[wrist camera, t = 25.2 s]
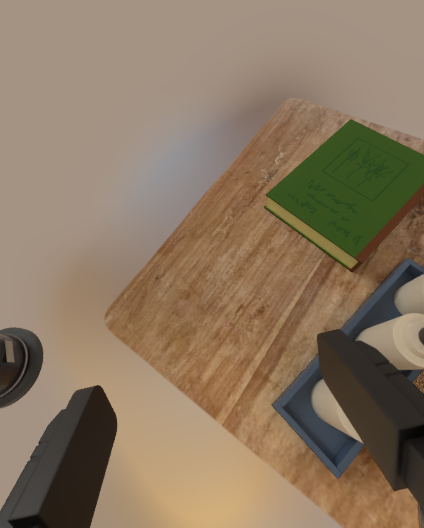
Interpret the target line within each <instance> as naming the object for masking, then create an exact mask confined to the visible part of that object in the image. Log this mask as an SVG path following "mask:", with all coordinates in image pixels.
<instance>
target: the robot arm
mask: <svg viewBox="0 0 424 528" xmlns="http://www.w3.org/2000/svg"><path fill="white" fill-rule="evenodd" d="M317 342H318V354H319V366H320V371H321V374H322V377H323V379H324V381H325V383H326V385H327V387H328V388H329V390H330V391H331V393H332V395H333V396H334V398H335V399H336V401H337V402H338V404H339V406H340V407H341V409H342V410H343V412H344V413H345V415H346V417H347V418H348V420H349V421H350V423H351V424H352V426H353V428H354V429H355V431H356V432H357V434H358V435H359V437H360V439H361V440H362V442H363V443H364V445H365V446H366V448H367V449H368V451H369V453H370V454H371V456H372V457H373V459H374V460H375V462H376V464H377V465H378V467H379V468H380V470H381V471H382V473H383V475H384V476H385V478H386V479H387V481H388V482H389V484H390V486H391V487H392V489H393V490H394V491H397V490H401V489H406V488H408V489H409V490H410V492H411V493H412V495H413V496H414V497H415V499H416V500H417V502H418V520H419V528H424V394H423V393H422V392H421V391H420V390H419V389H418V388H417V387H416V386H415V385H414V384H413V383H412V382H411V381H410V380H409V379H408V378H407V377H406V376H405V375H404V374H401V373H400V371H399V370H398V369H397V368H396V367H395V366H394V365H393V364H392V363H390V362H389V360H388V359H387V358H386V357H385V356H384V355H383V354H382V353H380V352H379V351H378V350H377V349H376V348H374V347H372V346H370V345H369V344H367V343H365V342H363V341H361V340H358V341H354V342H353V341H352V340H351V339H350V338H349V337H348V336H347V335H346V334H345V333H344V332H343V331H342V330H340V329H337V330H332V331H328V332H324V333H320V334H318V336H317ZM29 361H30V352H29V348H28V345H27V344H26V342H25V341H24V340H23V339H22V338H20V337H18V336H14V335H4V334H0V398H2V397H4V396H6V395H7V394H9V393H10V392H11V391H13V390H14V389H15V388H16V387H17V386H18V385H19V383H20V382H21V381H22V379H23V378H24V376H25V374H26V372H27V369H28V366H29ZM116 432H117V418H116V414H115V412H114V410H113V408H112V406H111V404H110V402H109V400H108V398H107V396H106V394H105V393H104V390H103V389H102V387H101V386H99V385H97V386H93V387H89V388H84V389H80V390H77V391H76V392H75V393H74V394H73V396H72V397H71V399H70V401H69V403H68V405H67V407H66V409H64V410H61V411H60V412H59V414H58V415H57V416H56V417H55V418H54V419H53V421H51V423H50V424H49V425H48V426H47V428H46V430H45V432H44V434H43V435H42V437H41V439H40V441H39V445H38V446H36V448H35V450H34V451H33V453H32V455H31V457H30V458H31V459H30V461H28V462H27V464H26V466H25V468H24V470H23V471H22V473H21V475H20V477H19V478H18V480H17V482H16V484H15V486H14V488H13V489H12V491H11V493H10V495H9V497H8V498H7V500H6V502H5V504H4V505H3V507H2V509H1V511H0V528H90V526H91V522H92V518H93V515H94V511H95V508H96V504H97V501H98V497H99V493H100V490H101V486H102V483H103V479H104V476H105V472H106V468H107V465H108V461H109V458H110V454H111V450H112V447H113V443H114V440H115V436H116Z"/></svg>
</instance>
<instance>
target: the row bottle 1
mask: <svg viewBox="0 0 424 528" xmlns="http://www.w3.org/2000/svg"><path fill="white" fill-rule="evenodd" d="M358 340H361V341H363V342H365V343H367V344H369V345H370V346H372V347H374V348H376V349H377V350H378V351H379V352H380V353H382V354H383V355H384V356H385V357H386V358H387V359H388V360H389V362H390V363H392V364H393V365H394V366H395V367H396V368H397V369H398V370H415V369H424V315H423V314H419V313H410V314H406V315H403V316H400V317H397V318H395V319H392V320H389V321H386V322H384V323H381V324H378V325H375V326H373V327H370V328H367V329H364V330H362V331H361V332H359V333H358V335H357V336H356V338H355V341H358Z"/></svg>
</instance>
